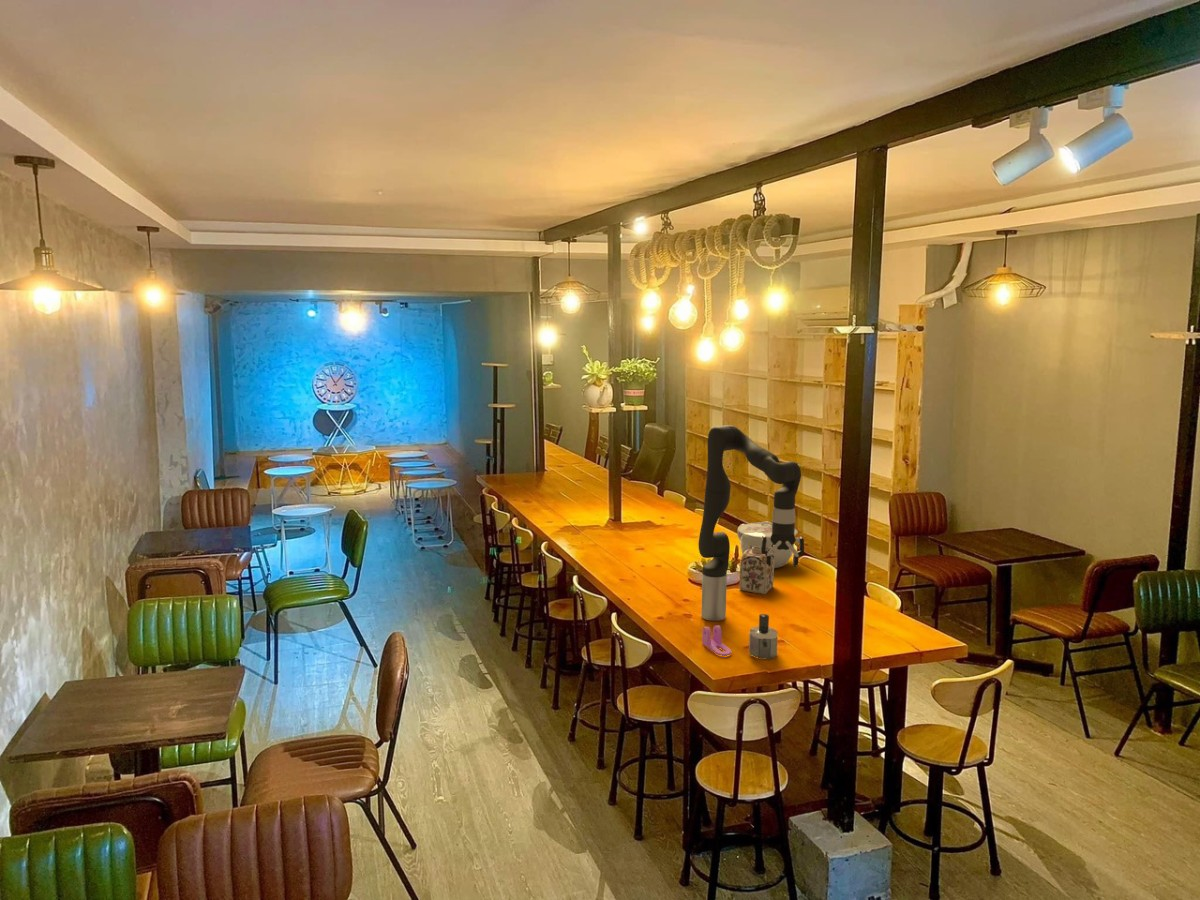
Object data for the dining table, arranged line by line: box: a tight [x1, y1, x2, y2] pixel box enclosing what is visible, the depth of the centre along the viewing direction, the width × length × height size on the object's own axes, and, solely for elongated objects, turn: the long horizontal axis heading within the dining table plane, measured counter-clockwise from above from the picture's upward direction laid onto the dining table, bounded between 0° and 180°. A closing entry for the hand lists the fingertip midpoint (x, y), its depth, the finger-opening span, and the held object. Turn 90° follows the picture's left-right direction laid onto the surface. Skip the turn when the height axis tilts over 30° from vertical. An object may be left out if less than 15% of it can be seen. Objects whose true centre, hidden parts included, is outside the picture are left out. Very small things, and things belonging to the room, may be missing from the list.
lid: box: [749, 613, 778, 640], centre depth 283 cm, size 9×9×7 cm
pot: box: [748, 634, 778, 660], centre depth 284 cm, size 13×9×7 cm
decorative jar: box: [739, 547, 775, 595], centre depth 351 cm, size 12×12×18 cm
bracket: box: [701, 625, 732, 656], centre depth 288 cm, size 13×6×7 cm, turn 20°
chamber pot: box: [736, 520, 799, 569], centre depth 384 cm, size 28×28×21 cm
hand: (781, 566), depth 285 cm, fingers open, 8 cm apart
